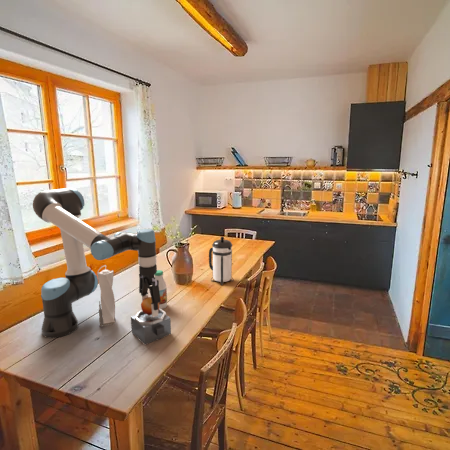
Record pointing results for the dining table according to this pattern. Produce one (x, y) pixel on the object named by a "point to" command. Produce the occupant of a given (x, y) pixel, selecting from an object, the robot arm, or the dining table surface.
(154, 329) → the grey octagonal pot
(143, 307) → the fruit
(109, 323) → the skyscraper
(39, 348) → the dining table surface
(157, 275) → the milk bottle
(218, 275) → the coffee press
